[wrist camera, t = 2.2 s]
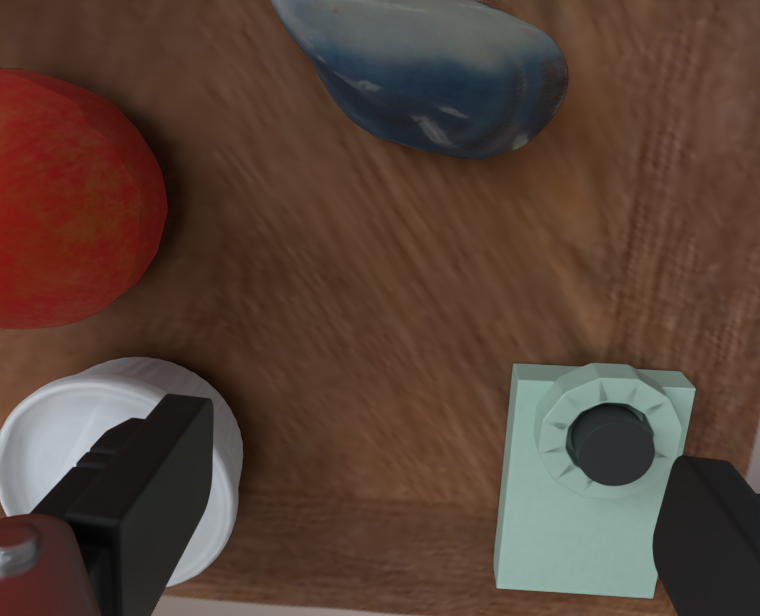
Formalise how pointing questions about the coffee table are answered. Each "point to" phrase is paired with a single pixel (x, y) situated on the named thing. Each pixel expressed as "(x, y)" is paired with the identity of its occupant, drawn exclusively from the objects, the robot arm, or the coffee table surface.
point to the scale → (583, 481)
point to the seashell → (432, 70)
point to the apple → (71, 202)
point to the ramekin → (102, 412)
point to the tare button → (612, 445)
